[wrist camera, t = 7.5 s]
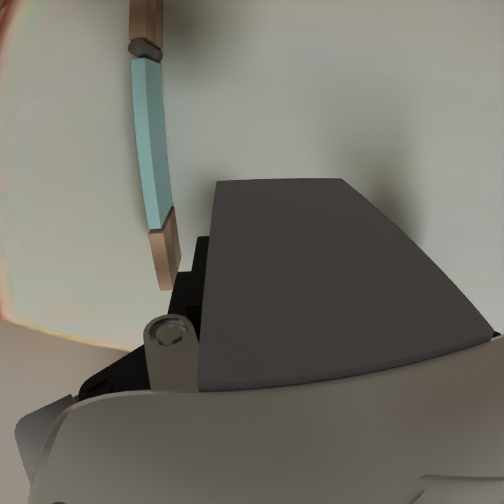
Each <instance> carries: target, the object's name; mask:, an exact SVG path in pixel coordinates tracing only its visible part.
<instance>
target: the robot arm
mask: <svg viewBox="0 0 504 504" xmlns="http://www.w3.org/2000/svg"><path fill="white" fill-rule="evenodd" d="M209 238H210V236H201V237H198V238H197V243H196V248H195V254H194V259H193V265H192V271H188V272H177V275H176V279H175V283H174V287H173V292H172V296H171V300H170V305H169V309H168V314H167V315H163V316H159V317H157V318H155V319H153V320H152V321H150V322H149V323H148V324H147V325H146V327H145V329H144V332H143V339H144V344H143V345H142V346H140V347H139V348H137V349H135V350H134V351H132V352H131V353H129V354H127V355H126V356H124V357H122V358H121V359H119V360H118V361H116V362H114V363H113V364H111V365H110V366H108V367H106V368H105V369H103V370H101V371H100V372H98V373H96V374H95V375H93V376H92V377H90V378H89V379H88V380H86V381H85V382H84V384H83V385H82V386H81V388H80V391H79V395H77V396H75V397H73V396H72V395H71V394H69V395H67V396H65V397H63V398H61V399H59V400H57V401H55V402H53V403H51V404H49V405H47V406H45V407H42V408H40V409H38V410H36V411H34V412H32V413H30V414H27V415H25V416H24V417H23V418H21V419H20V420H19V421H18V423H17V424H16V428H15V439H16V442H17V446H18V449H19V452H20V456H21V459H22V461H23V465H24V468H25V471H26V473H27V476H28V479H29V482H30V484H31V488H30V492H29V498H28V504H504V334H503V335H501V334H500V333H498V332H496V331H495V333H494V335H493V337H492V338H491V340H489V341H486V342H484V343H481V344H478V345H475V346H472V347H469V348H466V349H463V350H459V351H456V352H453V353H449V354H446V355H443V356H439V357H435V358H432V359H428V360H424V361H420V362H417V363H413V364H409V365H405V366H400V367H396V368H392V369H387V370H383V371H378V372H373V373H368V374H363V375H358V376H352V377H347V378H341V379H334V380H328V381H321V382H314V383H306V384H299V385H291V386H282V387H272V388H261V389H247V390H230V391H201V392H199V390H198V386H197V368H198V354H199V341H200V328H201V317H202V305H203V295H204V284H205V274H206V265H207V255H208V246H209Z"/></svg>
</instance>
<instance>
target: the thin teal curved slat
mask: <svg viewBox="0 0 504 504" xmlns="http://www.w3.org/2000/svg"><path fill="white" fill-rule="evenodd" d="M131 74H132V94H133V109H134V121H135V132H136V142H137V151H138V160H139V168H140V176H141V183H142V190H143V197H144V204H145V210H146V216H147V222H148V228H149V229H160V228H162V225H163V223H164V221H165V219H166V217H167V214H168V212H169V210H170V208H171V206H172V196H171V188H170V179H169V169H168V159H167V148H166V136H165V124H164V109H163V91H162V67H161V64H159V63H156V62H154V61H152V60H149V59H147V58H140V59H135V60H131Z"/></svg>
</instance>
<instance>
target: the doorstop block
mask: <svg viewBox="0 0 504 504" xmlns="http://www.w3.org/2000/svg"><path fill="white" fill-rule="evenodd" d="M494 333H495V331H494V330H493V328H492V327H491V326H490V325H489V323H488V322H487V321H486V320H485V318H484V317H483V316H482V315H481V314H480V312H479V311H478V310H477V309H476V308H475V307H474V305H473V304H472V303H471V302H470V301H469V300H468V299H467V297H466V296H465V295H464V294H463V293H462V292H461V291H460V290H459V288H458V287H457V286H456V285H455V284H454V283H453V282H452V281H451V280H450V279H449V278H448V277H447V275H446V274H445V273H444V272H443V271H442V270H441V269H440V268H439V267H438V266H437V265H436V264H435V263H434V262H433V261H432V260H431V259H430V258H429V257H428V256H427V255H426V254H425V253H424V252H423V251H422V250H421V249H420V248H419V247H418V246H417V245H416V244H415V243H414V242H413V241H412V240H411V239H410V238H409V237H408V236H407V235H406V234H405V233H403V232H402V231H401V230H400V229H399V228H398V227H397V226H396V225H395V224H394V223H393V222H392V221H390V220H389V219H388V218H387V217H386V216H385V215H384V214H383V213H382V212H380V211H379V210H378V209H377V208H376V207H375V206H374V205H372V204H371V203H370V202H369V201H368V200H367V199H366V198H364V197H363V196H362V195H361V194H360V193H358V192H357V191H356V190H355V189H354V188H352V187H351V186H350V185H349V184H348V183H346V182H345V181H344V180H343V179H337V178H293V179H252V180H229V181H217V182H216V189H215V197H214V205H213V213H212V221H211V229H210V238H209V246H208V255H207V265H206V274H205V284H204V295H203V305H202V317H201V328H200V341H199V354H198V368H197V386H198V390H199V392H201V391H230V390H247V389H261V388H272V387H282V386H291V385H299V384H306V383H314V382H321V381H328V380H334V379H341V378H347V377H352V376H358V375H363V374H368V373H373V372H378V371H383V370H387V369H392V368H396V367H400V366H405V365H409V364H413V363H417V362H420V361H424V360H428V359H432V358H435V357H439V356H443V355H446V354H449V353H453V352H456V351H459V350H463V349H466V348H469V347H472V346H475V345H478V344H481V343H484V342H486V341H489V340H491V338H492V337H493V335H494Z"/></svg>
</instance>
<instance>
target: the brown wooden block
mask: <svg viewBox="0 0 504 504" xmlns="http://www.w3.org/2000/svg"><path fill="white" fill-rule="evenodd" d="M162 11H163V1H162V0H130V18H129V40H130V41H131V42H130V44H129V46H128V51H129V52H130V53H131V54H133V55H136V56H138V57H141V58H147V59H149V60H152V61H154V62H159V61H160V60H161V59H162V57H163V54H162V52H161V51H160V50H158V48H163V39H162ZM148 235H149V240H150V245H151V250H152V255H153V260H154V265H155V270H156V275H157V279H158V284H159V288H160V291H162V290H173V287H174V283H175V279H176V275H177V272H178V269H179V265H180V261H181V252H180V246H179V239H178V232H177V224H176V217H175V209H174V207H171V208H170V210H169V212H168V214H167V217H166V219H165V221H164V223H163V225H162V228H160V229H151V230H150V232H149V234H148Z"/></svg>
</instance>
